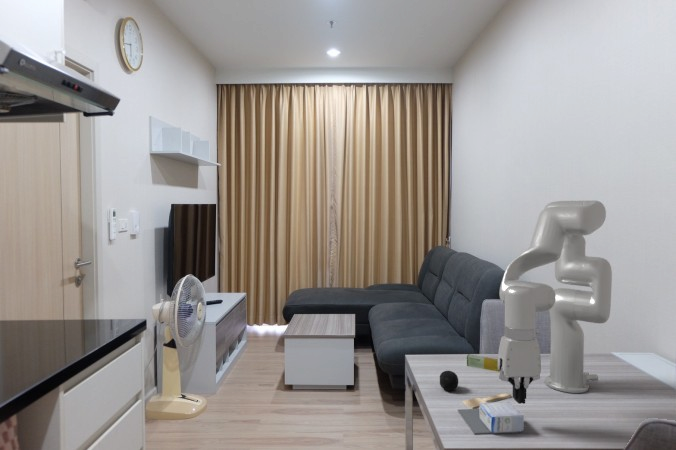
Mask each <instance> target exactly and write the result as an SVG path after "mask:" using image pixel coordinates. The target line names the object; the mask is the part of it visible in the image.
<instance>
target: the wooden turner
mask: <svg viewBox="0 0 676 450" xmlns="http://www.w3.org/2000/svg"><path fill="white" fill-rule="evenodd" d="M511 397H512V394H510V393H508V392H504V393H500V394H495V395H492V396H488V397H483V398H480V397H475V398H471V399H467V400H466V399H465V400H462V404H464V405H465V406H466V407H469V409H480V403H493V402H495V401H496V402H498V401H500V400H505V399H509V398H511Z"/></svg>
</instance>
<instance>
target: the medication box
mask: <svg viewBox="0 0 676 450" xmlns="http://www.w3.org/2000/svg"><path fill="white" fill-rule="evenodd" d="M466 367H471V368H477V369H482V370H488V371H494V372H499V373H500V371H499V370H498V358H492V357H486V356H483V355H482V356H480V355H476V354H475V355H474V354H471V353H470V354H467V356H466Z"/></svg>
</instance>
